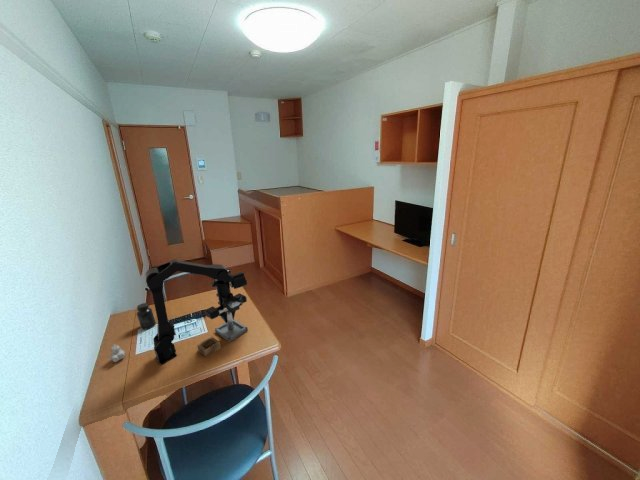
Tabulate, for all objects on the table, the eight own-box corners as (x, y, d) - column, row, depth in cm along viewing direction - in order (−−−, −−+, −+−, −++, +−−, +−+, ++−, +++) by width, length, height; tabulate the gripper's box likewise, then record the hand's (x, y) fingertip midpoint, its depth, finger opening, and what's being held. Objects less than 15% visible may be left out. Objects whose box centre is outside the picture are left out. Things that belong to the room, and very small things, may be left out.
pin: (229, 331, 130) (226, 312, 127) (226, 328, 132) (222, 310, 129) (235, 327, 132) (232, 309, 129) (232, 325, 134) (228, 307, 131)
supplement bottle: (159, 321, 145) (153, 301, 141) (150, 330, 138) (144, 309, 134) (146, 321, 145) (140, 301, 141) (137, 329, 139) (130, 309, 135)
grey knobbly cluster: (128, 353, 123) (123, 338, 120) (123, 363, 117) (117, 347, 114) (114, 356, 121) (108, 341, 119) (108, 367, 115) (102, 351, 113)
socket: (206, 357, 117) (204, 351, 116) (198, 350, 122) (196, 344, 121) (221, 348, 122) (220, 342, 121) (212, 341, 127) (211, 336, 126)
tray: (229, 342, 126) (228, 338, 125) (215, 332, 133) (214, 328, 133) (247, 330, 133) (247, 327, 132) (233, 322, 140) (232, 318, 140)
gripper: (214, 306, 114) (221, 338, 119) (251, 288, 128) (256, 317, 133) (201, 298, 121) (207, 328, 126) (237, 282, 135) (242, 309, 140)
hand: (229, 321), depth 131 cm, fingers closed on pin, 3 cm apart
